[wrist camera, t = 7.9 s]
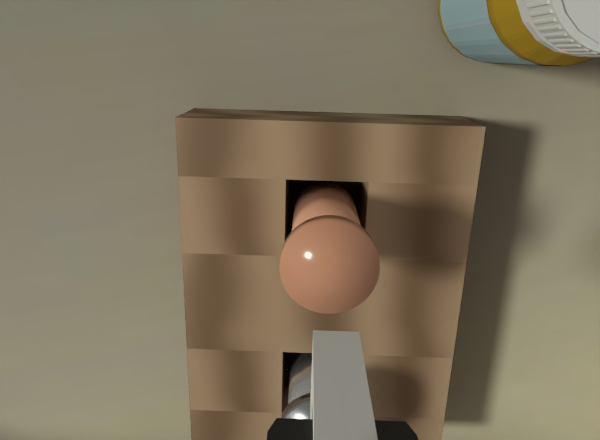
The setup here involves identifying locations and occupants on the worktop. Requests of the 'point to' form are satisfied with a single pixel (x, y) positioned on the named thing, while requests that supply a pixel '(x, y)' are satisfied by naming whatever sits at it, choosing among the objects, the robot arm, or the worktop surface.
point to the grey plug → (299, 387)
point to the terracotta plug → (328, 252)
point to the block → (274, 231)
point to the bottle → (523, 30)
